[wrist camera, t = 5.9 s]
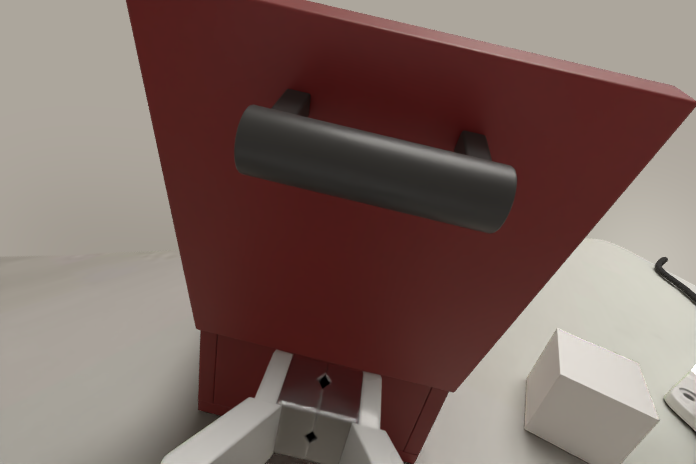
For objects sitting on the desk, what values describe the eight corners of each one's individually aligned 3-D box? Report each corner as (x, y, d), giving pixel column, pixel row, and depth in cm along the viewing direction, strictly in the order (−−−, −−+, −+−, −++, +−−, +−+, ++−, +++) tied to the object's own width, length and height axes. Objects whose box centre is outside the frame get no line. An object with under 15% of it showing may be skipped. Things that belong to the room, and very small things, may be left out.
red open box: (270, 281, 37) (278, 221, 34) (406, 314, 37) (427, 257, 34) (197, 410, 24) (200, 329, 20) (414, 464, 23) (449, 390, 20)
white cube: (526, 378, 33) (556, 327, 30) (599, 413, 31) (638, 362, 28) (524, 429, 28) (560, 373, 25) (611, 475, 26) (660, 420, 23)
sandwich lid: (145, -38, 10) (-9, -14, 6) (675, 85, 10) (814, 179, 6) (205, 311, 21) (161, 390, 17) (453, 372, 20) (457, 464, 17)
